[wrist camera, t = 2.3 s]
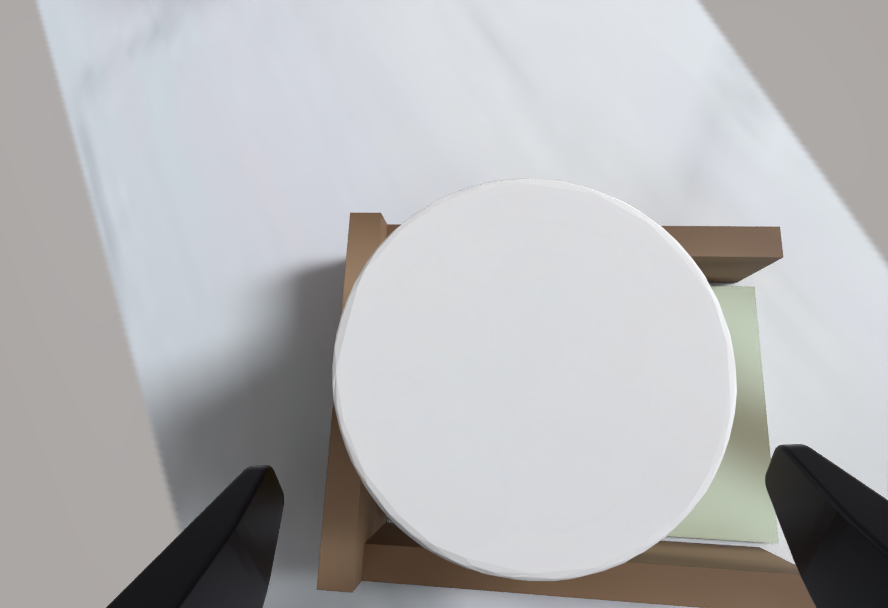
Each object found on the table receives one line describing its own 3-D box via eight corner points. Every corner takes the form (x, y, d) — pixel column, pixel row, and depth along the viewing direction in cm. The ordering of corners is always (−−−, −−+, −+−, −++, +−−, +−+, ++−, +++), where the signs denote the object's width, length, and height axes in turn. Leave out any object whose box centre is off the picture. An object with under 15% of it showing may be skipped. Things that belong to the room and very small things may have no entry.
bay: (779, 582, 16) (870, 635, 12) (355, 550, 17) (316, 589, 14) (748, 256, 18) (817, 214, 15) (378, 252, 20) (350, 212, 16)
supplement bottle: (376, 421, 18) (132, 433, 6) (475, 276, 19) (444, 20, 7) (531, 534, 17) (637, 857, 5) (630, 373, 18) (946, 275, 5)
